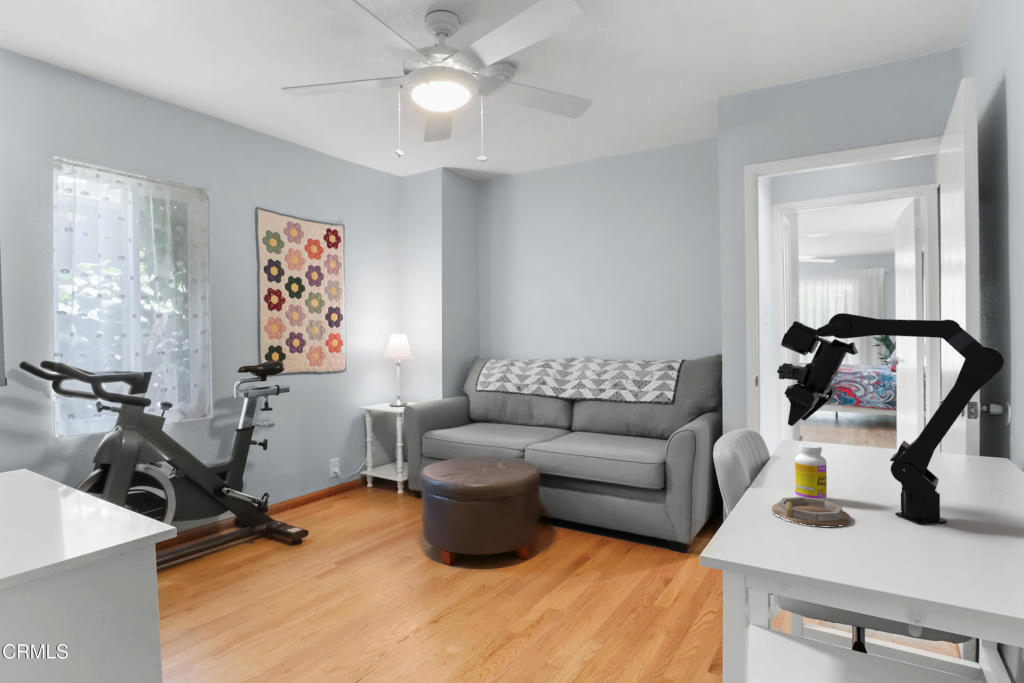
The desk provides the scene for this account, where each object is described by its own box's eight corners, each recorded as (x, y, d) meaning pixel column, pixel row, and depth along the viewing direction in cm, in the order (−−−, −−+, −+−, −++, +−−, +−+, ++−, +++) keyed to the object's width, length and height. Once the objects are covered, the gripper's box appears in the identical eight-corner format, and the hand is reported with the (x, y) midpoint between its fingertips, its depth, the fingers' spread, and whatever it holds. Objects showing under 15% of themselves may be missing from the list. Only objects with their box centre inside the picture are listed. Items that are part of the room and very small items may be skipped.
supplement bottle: (819, 505, 127) (819, 449, 127) (790, 498, 133) (789, 445, 132) (831, 499, 132) (830, 445, 132) (802, 493, 137) (802, 441, 137)
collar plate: (867, 525, 114) (867, 506, 114) (799, 529, 112) (799, 510, 112) (818, 503, 129) (818, 487, 129) (758, 506, 127) (758, 490, 127)
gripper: (803, 347, 140) (777, 401, 145) (777, 351, 126) (750, 411, 131) (849, 367, 133) (820, 423, 138) (827, 373, 119) (796, 435, 124)
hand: (796, 422), depth 133 cm, fingers open, 9 cm apart
